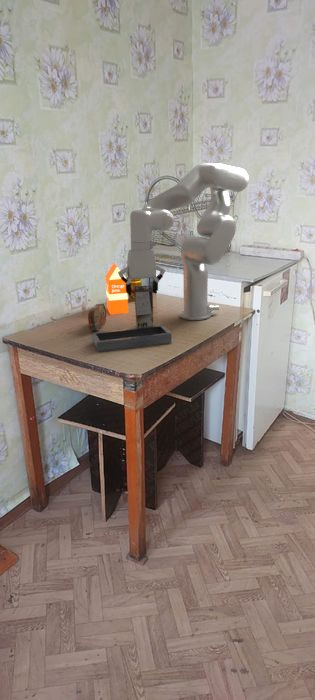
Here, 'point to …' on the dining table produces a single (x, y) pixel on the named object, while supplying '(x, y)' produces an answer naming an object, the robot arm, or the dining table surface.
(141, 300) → the coffee box
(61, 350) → the dining table surface
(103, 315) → the tin
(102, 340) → the dark grey tray
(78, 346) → the dining table surface
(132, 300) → the condiment
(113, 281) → the orange juice
